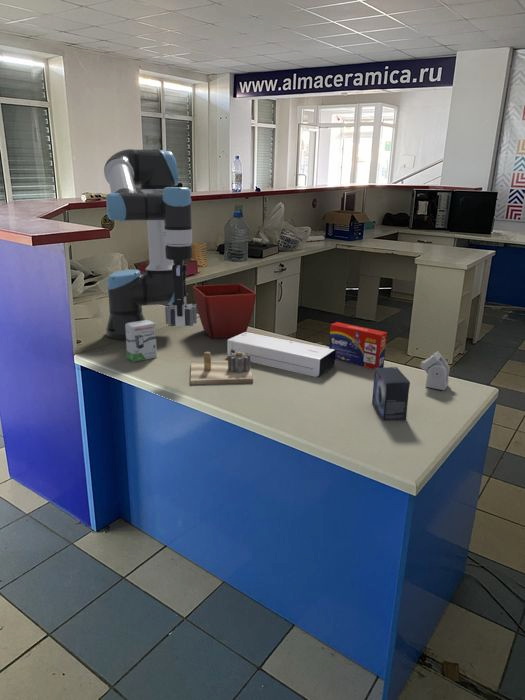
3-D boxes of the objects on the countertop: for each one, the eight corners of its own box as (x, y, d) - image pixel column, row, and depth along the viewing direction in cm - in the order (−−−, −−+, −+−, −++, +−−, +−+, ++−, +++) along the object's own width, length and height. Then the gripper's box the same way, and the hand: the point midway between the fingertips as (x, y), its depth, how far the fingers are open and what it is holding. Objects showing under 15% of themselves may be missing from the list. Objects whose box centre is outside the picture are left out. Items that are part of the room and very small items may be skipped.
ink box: (133, 362, 168) (131, 326, 164) (126, 358, 172) (124, 323, 168) (157, 357, 173) (156, 322, 170) (150, 353, 177) (148, 319, 173)
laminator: (334, 367, 168) (336, 349, 166) (318, 380, 158) (319, 360, 156) (245, 348, 185) (245, 331, 183) (224, 358, 175) (224, 340, 173)
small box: (369, 403, 142) (373, 366, 138) (393, 402, 142) (397, 366, 139) (381, 421, 132) (385, 382, 128) (407, 420, 132) (411, 381, 129)
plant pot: (240, 324, 212) (240, 282, 206) (256, 338, 195) (257, 293, 190) (193, 328, 205) (192, 285, 200) (206, 342, 189) (205, 296, 183)
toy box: (383, 367, 168) (387, 332, 165) (377, 370, 165) (381, 335, 162) (334, 354, 179) (336, 321, 175) (328, 357, 176) (330, 324, 172)
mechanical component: (444, 391, 150) (448, 358, 147) (416, 385, 154) (420, 353, 151) (448, 385, 155) (452, 353, 151) (421, 380, 158) (424, 348, 155)
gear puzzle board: (191, 365, 167) (190, 344, 165) (248, 363, 169) (248, 343, 167) (190, 384, 152) (190, 362, 150) (252, 382, 154) (253, 361, 152)
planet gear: (167, 319, 159) (166, 303, 158) (196, 319, 160) (196, 302, 158) (164, 327, 151) (163, 310, 149) (196, 327, 152) (195, 310, 150)
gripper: (168, 240, 158) (171, 313, 165) (161, 249, 138) (165, 332, 145) (193, 240, 159) (195, 313, 166) (190, 249, 138) (192, 332, 145)
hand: (181, 322), depth 155 cm, fingers closed on planet gear, 9 cm apart
